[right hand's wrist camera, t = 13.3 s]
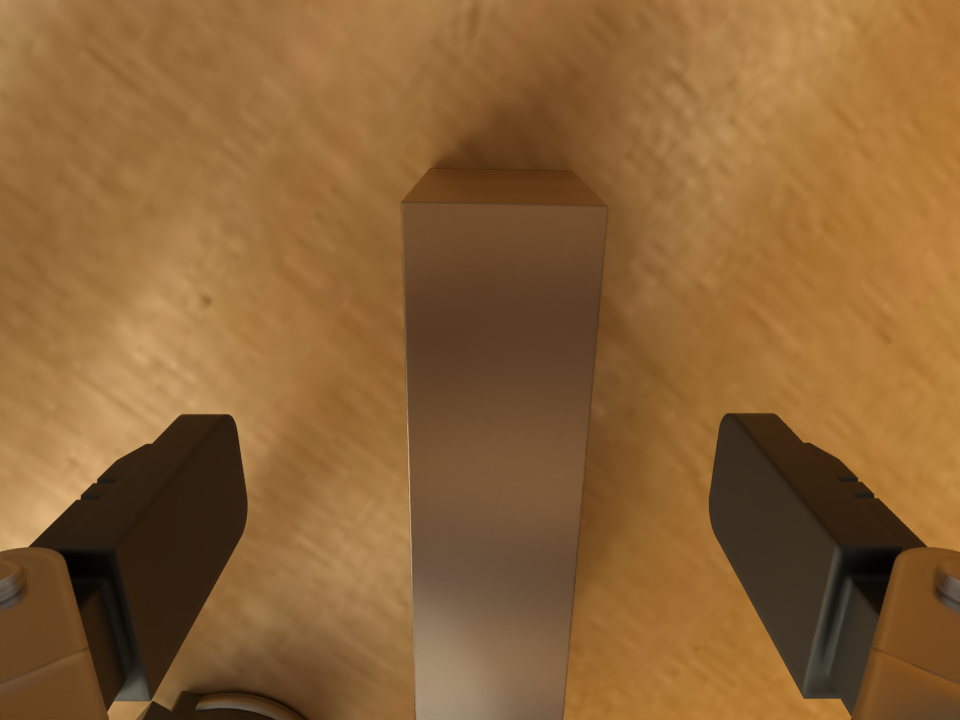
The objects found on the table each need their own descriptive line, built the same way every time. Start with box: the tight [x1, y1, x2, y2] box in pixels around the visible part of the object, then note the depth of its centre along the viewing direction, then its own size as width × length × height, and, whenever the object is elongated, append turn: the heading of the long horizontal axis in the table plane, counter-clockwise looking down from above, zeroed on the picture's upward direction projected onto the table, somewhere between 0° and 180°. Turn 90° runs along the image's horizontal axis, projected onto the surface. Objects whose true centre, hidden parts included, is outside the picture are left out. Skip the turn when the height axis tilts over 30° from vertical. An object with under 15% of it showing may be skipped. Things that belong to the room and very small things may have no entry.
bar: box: [401, 168, 608, 720], centre depth 27 cm, size 25×6×9 cm, turn 179°
